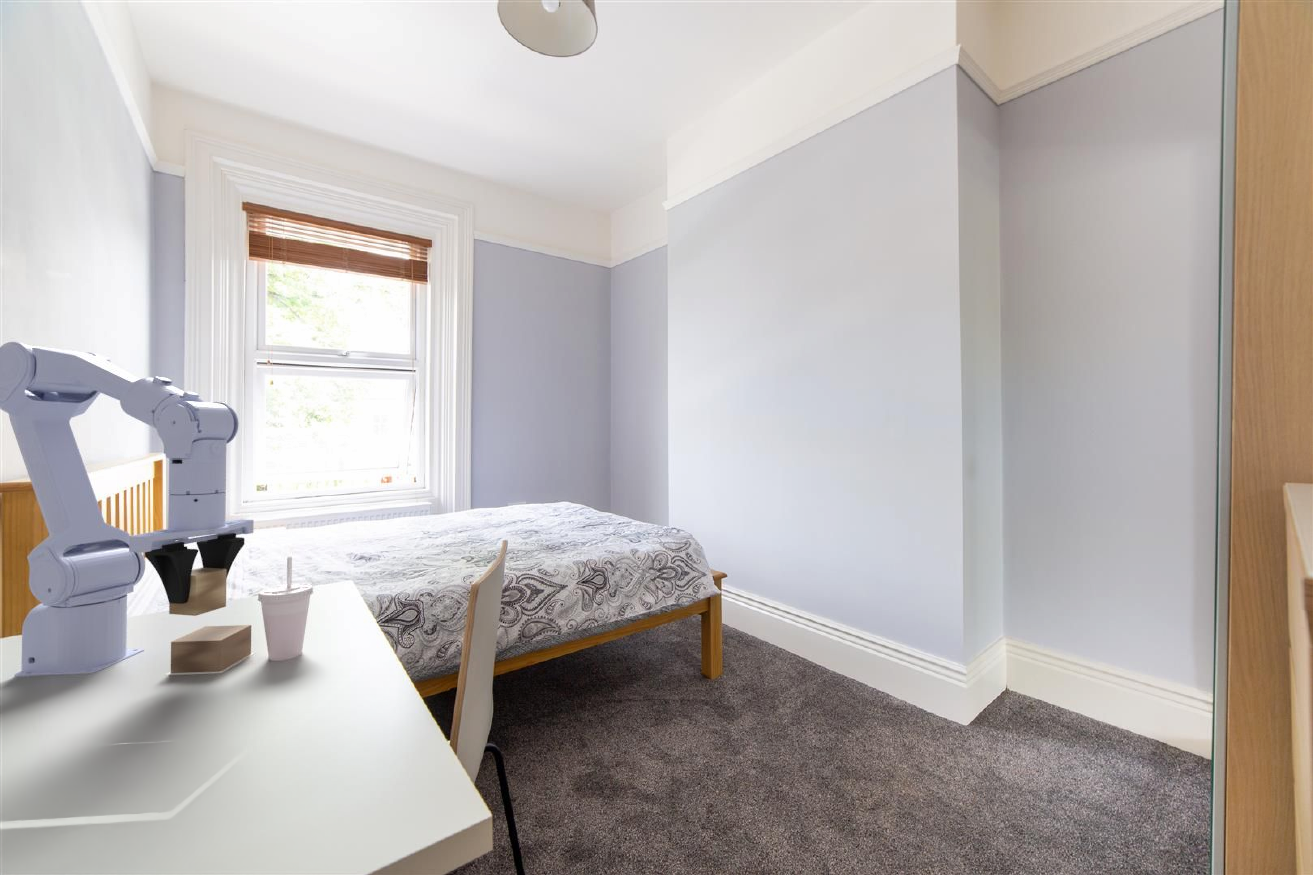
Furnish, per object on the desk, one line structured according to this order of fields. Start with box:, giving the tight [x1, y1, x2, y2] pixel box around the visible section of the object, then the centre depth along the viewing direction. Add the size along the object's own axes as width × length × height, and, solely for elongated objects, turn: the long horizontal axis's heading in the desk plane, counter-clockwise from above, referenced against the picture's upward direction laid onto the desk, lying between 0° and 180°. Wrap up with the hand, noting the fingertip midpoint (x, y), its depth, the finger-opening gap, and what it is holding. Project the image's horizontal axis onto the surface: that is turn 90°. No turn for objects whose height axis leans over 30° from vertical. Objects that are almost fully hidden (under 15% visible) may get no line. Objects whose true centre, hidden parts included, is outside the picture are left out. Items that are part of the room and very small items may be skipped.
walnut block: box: [170, 624, 252, 673], centre depth 73 cm, size 6×6×4 cm
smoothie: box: [257, 556, 314, 662], centre depth 75 cm, size 6×6×14 cm
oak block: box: [168, 567, 228, 617], centre depth 70 cm, size 4×4×5 cm
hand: (196, 597), depth 70 cm, fingers closed on oak block, 4 cm apart
